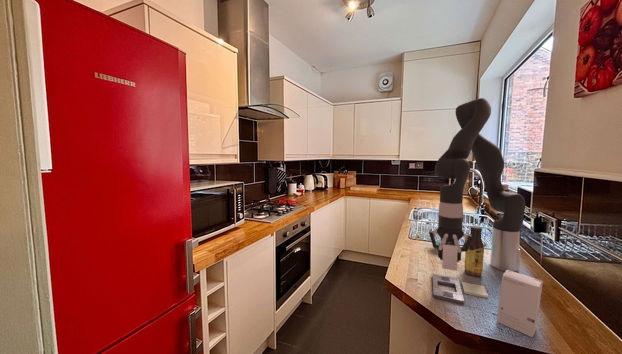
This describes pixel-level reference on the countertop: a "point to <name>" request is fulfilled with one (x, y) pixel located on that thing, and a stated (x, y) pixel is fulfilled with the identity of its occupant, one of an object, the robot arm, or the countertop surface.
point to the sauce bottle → (475, 253)
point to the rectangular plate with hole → (445, 294)
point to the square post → (449, 256)
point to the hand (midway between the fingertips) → (449, 260)
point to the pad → (474, 290)
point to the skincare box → (519, 302)
